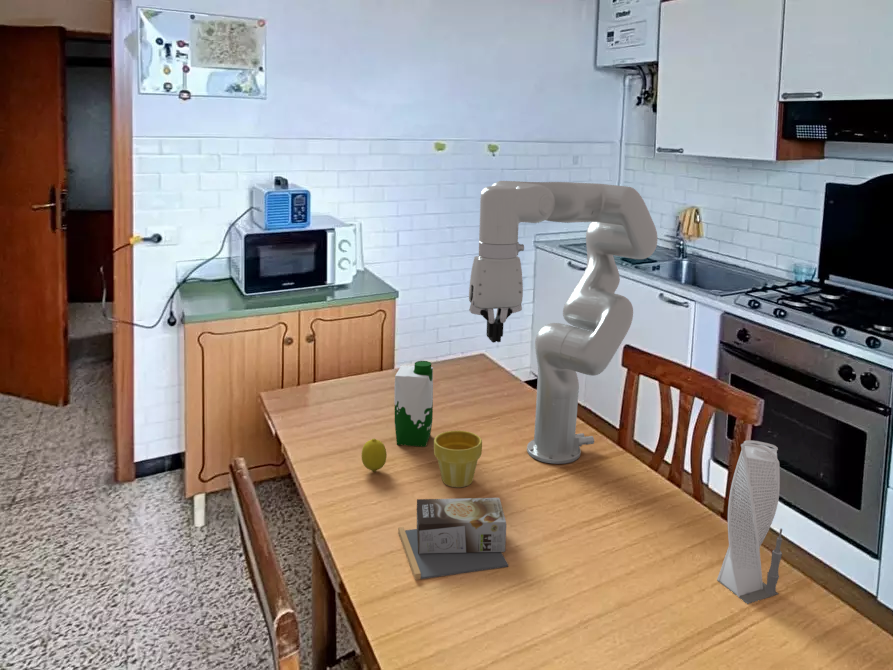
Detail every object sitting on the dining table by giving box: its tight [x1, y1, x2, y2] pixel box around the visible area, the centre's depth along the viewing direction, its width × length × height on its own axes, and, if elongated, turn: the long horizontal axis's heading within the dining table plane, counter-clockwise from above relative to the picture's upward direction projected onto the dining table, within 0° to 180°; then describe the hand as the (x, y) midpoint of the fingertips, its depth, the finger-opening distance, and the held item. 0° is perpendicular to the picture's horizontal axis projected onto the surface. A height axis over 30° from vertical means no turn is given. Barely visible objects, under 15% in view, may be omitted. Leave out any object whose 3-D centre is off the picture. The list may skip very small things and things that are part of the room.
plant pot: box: [433, 430, 483, 488], centre depth 159 cm, size 10×10×10 cm
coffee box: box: [416, 497, 507, 554], centre depth 137 cm, size 9×6×16 cm
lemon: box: [361, 438, 388, 473], centre depth 162 cm, size 6×6×8 cm
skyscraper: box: [716, 439, 783, 605], centre depth 122 cm, size 8×8×28 cm
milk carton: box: [394, 360, 434, 448], centre depth 177 cm, size 9×9×20 cm
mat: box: [397, 526, 509, 581], centre depth 135 cm, size 17×15×1 cm
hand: (494, 340), depth 148 cm, fingers closed
